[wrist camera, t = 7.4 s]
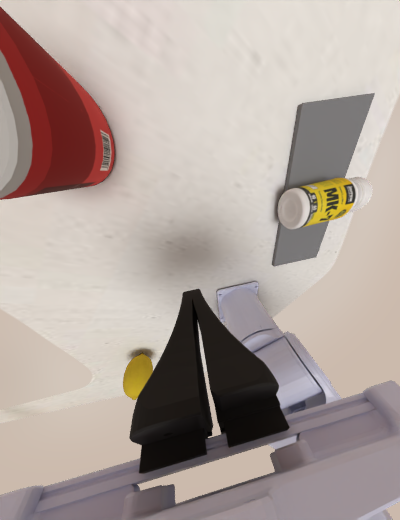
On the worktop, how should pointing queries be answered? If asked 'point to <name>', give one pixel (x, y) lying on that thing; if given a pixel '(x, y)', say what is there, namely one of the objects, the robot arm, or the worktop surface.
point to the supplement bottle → (323, 201)
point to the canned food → (46, 122)
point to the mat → (319, 163)
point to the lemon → (137, 375)
